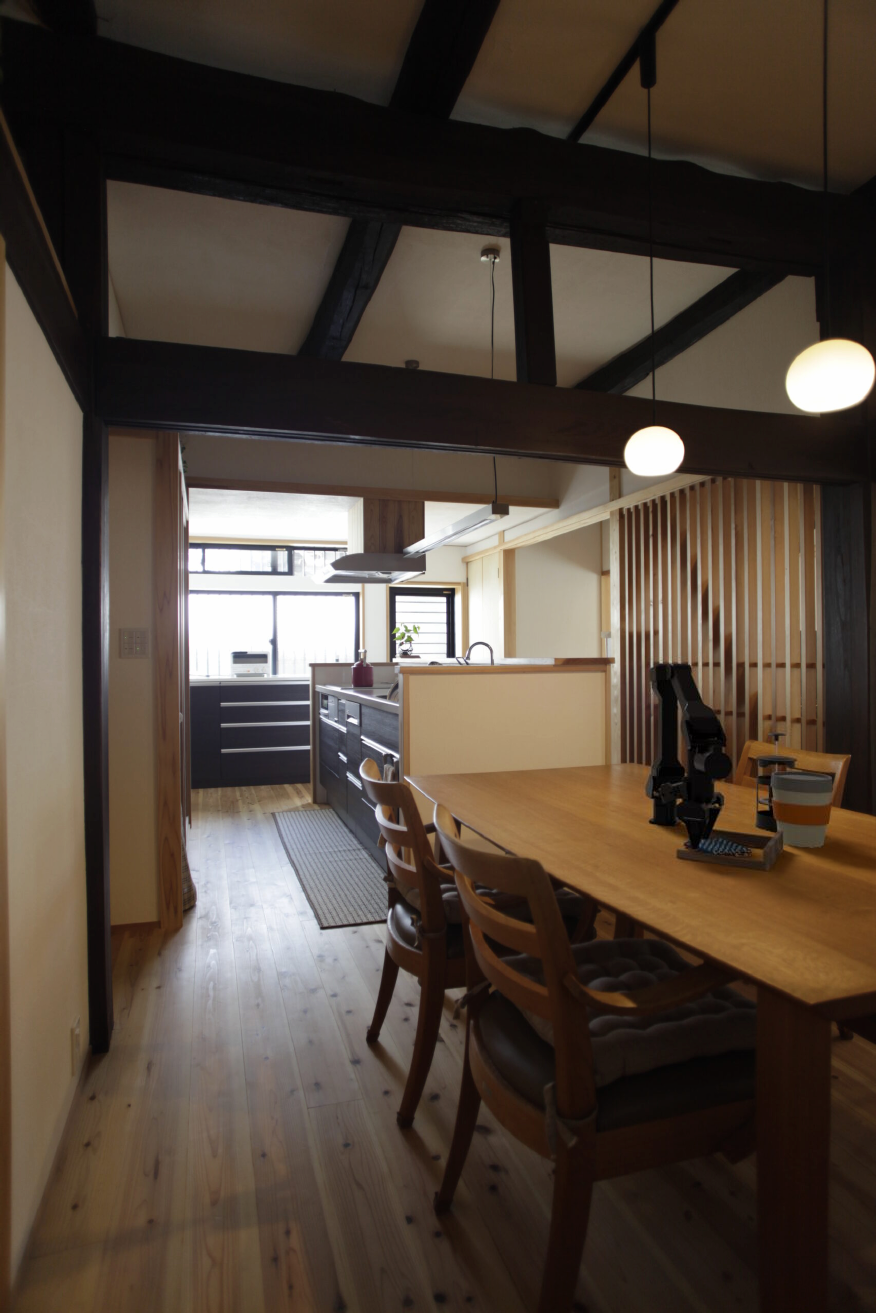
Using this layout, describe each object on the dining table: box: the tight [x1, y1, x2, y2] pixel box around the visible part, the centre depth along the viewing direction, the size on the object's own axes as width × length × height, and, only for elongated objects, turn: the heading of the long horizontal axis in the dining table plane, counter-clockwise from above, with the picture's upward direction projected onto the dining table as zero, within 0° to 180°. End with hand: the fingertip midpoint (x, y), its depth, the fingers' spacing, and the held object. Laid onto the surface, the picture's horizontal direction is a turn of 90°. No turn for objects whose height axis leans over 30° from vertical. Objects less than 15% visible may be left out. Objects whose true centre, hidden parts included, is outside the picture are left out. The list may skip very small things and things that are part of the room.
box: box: [676, 828, 784, 872], centre depth 153 cm, size 19×18×4 cm
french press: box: [754, 732, 798, 832], centre depth 177 cm, size 12×9×23 cm
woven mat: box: [683, 838, 753, 858], centre depth 155 cm, size 10×11×2 cm
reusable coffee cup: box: [770, 770, 834, 849], centre depth 162 cm, size 13×13×15 cm
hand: (700, 844), depth 157 cm, fingers open, 9 cm apart
